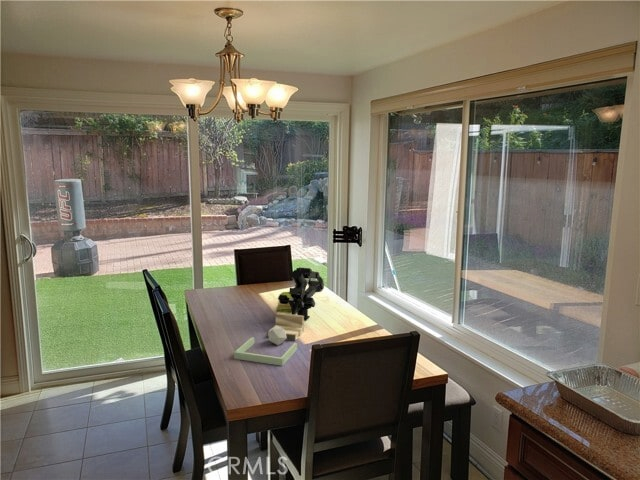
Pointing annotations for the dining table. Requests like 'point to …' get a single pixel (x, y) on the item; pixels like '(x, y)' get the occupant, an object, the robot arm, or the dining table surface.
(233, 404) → the dining table surface
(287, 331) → the block
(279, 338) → the die
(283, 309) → the dish towel
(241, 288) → the dining table surface
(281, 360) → the fence
